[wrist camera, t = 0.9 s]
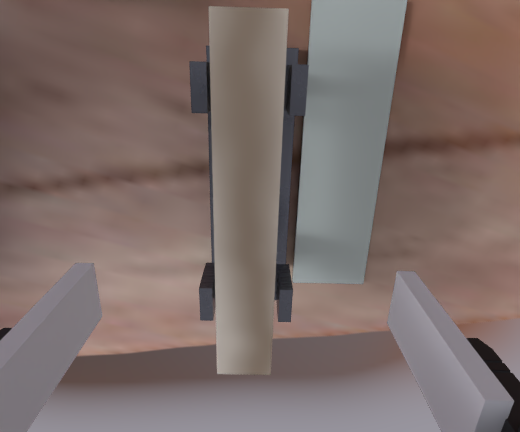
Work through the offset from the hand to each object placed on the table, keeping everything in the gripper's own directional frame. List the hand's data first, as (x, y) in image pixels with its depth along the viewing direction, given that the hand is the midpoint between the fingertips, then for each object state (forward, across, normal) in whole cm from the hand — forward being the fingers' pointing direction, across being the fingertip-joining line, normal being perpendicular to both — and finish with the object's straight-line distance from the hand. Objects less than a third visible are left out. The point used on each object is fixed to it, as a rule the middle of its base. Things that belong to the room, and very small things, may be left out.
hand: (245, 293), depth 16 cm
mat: (+22, +9, +1) cm, 24 cm away
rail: (+13, 0, 0) cm, 13 cm away
